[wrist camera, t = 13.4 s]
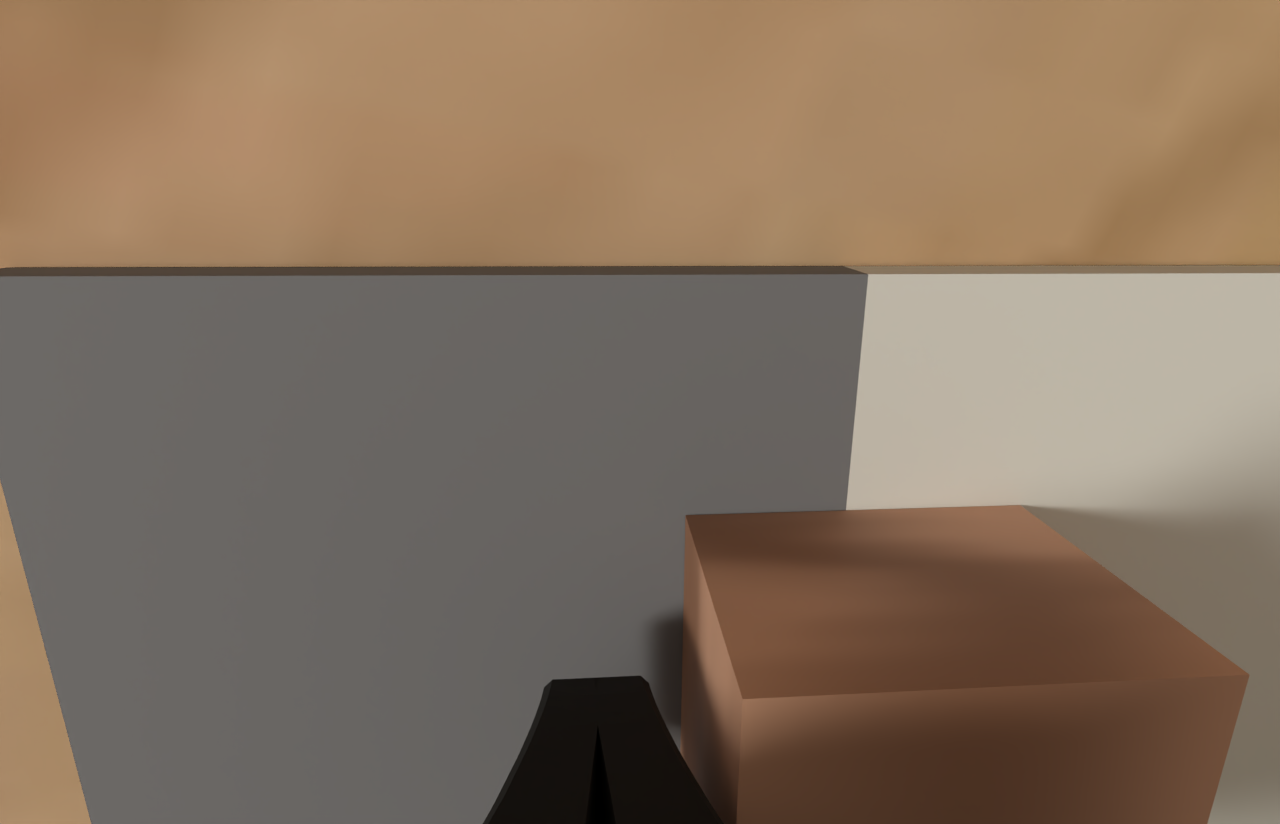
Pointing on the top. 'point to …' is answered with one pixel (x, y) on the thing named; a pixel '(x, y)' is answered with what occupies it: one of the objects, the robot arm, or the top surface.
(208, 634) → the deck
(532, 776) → the robot arm
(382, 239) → the top surface
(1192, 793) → the block
